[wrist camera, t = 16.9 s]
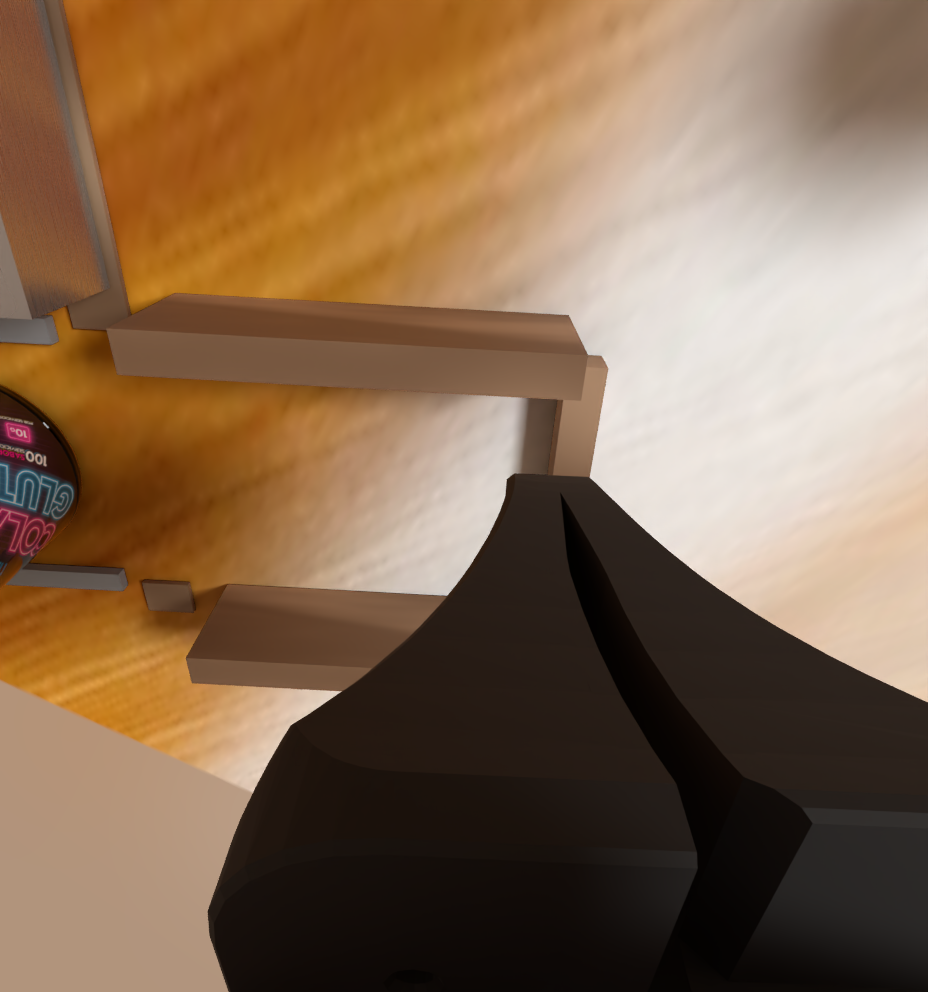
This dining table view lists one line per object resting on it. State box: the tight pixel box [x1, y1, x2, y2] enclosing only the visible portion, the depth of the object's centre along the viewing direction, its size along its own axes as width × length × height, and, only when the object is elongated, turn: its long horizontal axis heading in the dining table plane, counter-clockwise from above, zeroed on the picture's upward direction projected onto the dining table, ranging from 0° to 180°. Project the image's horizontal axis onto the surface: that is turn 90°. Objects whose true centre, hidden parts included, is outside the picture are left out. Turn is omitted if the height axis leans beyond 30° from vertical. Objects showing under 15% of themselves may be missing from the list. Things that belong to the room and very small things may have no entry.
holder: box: [43, 0, 608, 691], centre depth 17 cm, size 27×16×4 cm, turn 177°
